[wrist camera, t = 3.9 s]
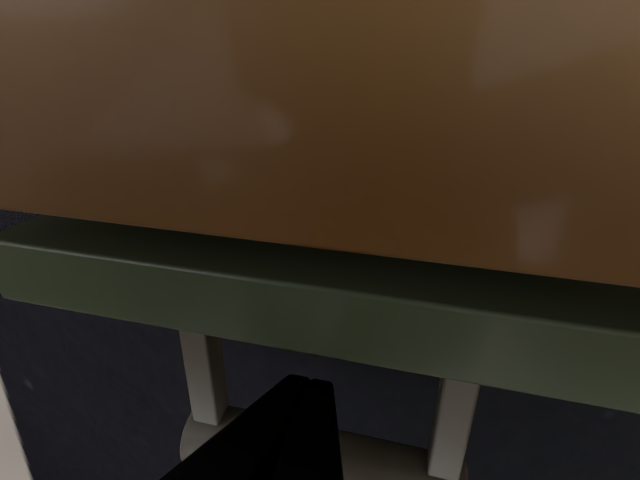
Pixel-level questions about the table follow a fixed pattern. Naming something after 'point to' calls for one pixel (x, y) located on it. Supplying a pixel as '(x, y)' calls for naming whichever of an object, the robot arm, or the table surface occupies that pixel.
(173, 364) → the table surface
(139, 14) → the cabinet
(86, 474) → the table surface
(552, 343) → the drawer
